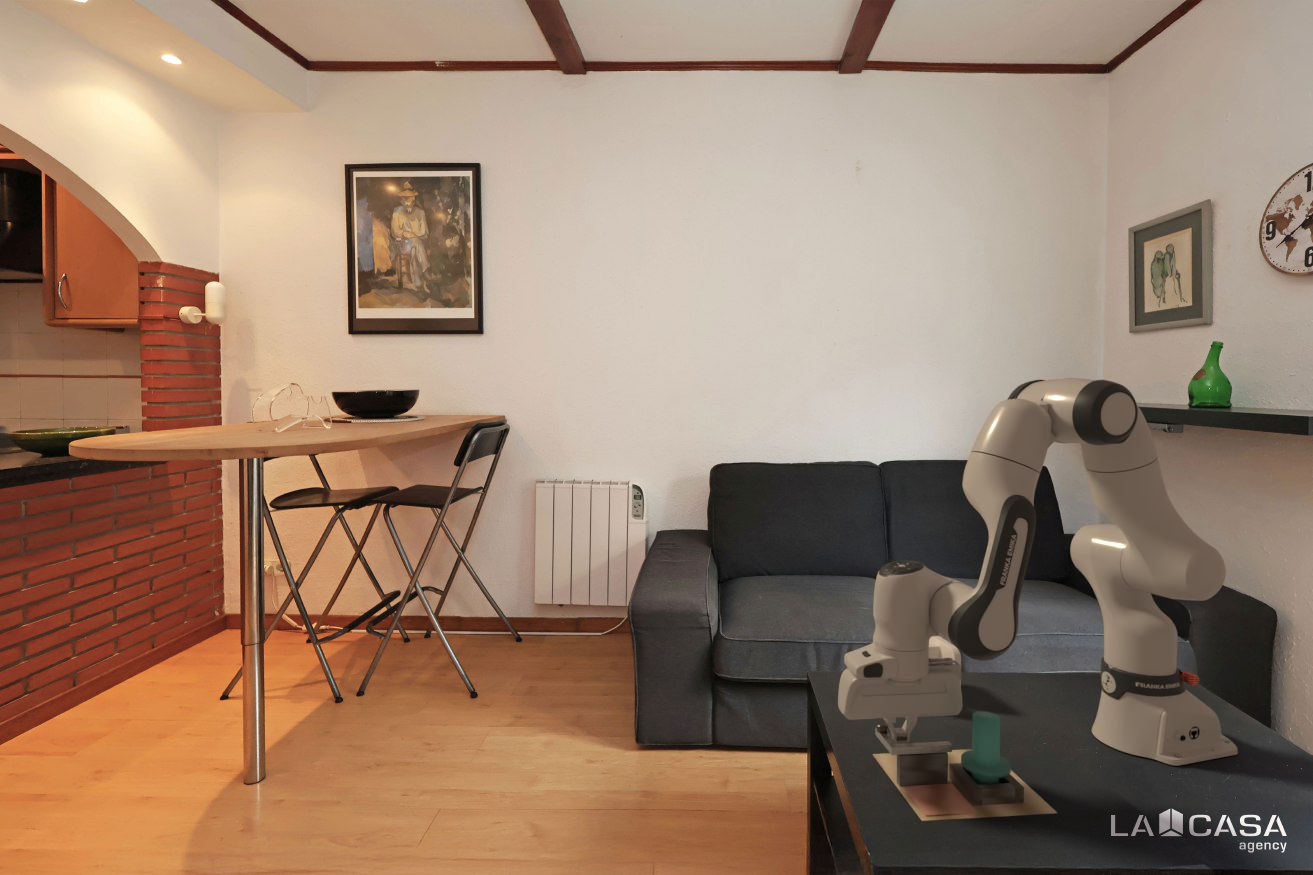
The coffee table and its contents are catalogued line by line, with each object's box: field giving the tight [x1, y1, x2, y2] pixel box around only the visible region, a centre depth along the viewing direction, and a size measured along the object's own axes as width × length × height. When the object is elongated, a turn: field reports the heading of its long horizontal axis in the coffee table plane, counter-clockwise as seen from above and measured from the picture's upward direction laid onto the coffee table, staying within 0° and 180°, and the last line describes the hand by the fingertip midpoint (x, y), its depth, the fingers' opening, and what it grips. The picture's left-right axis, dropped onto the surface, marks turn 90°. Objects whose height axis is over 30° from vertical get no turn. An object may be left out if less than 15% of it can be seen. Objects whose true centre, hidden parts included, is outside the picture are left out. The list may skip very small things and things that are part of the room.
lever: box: [874, 722, 953, 755], centre depth 121 cm, size 10×7×2 cm
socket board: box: [872, 748, 1058, 822], centre depth 119 cm, size 21×20×6 cm
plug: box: [961, 710, 1012, 785], centre depth 116 cm, size 7×7×12 cm
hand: (899, 740), depth 122 cm, fingers closed
